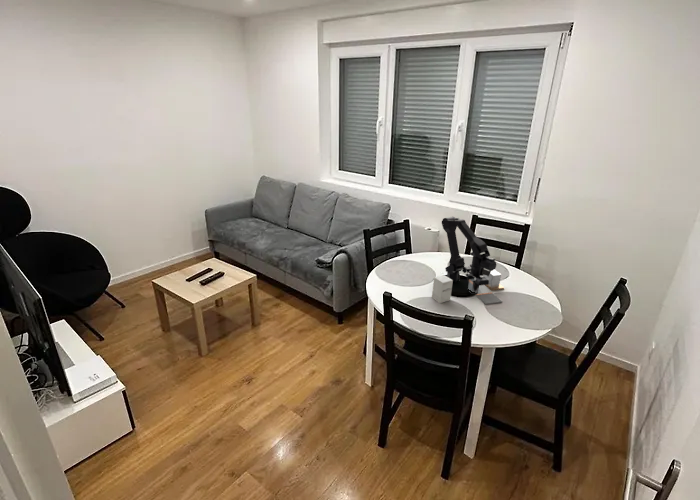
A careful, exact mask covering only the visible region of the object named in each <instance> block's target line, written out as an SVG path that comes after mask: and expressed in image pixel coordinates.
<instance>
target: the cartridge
mask: <svg viewBox="0 0 700 500" xmlns="http://www.w3.org/2000/svg"><path fill="white" fill-rule="evenodd" d="M475 280H476V278H474V279H469V282H468V286H467V287H468V288H467V290H468V289H469V290H471V291H472V292H475V293H474V294H479V288H480V286H479V287H478V288H477V290H476V291H474V287H473V281H475Z"/></svg>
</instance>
